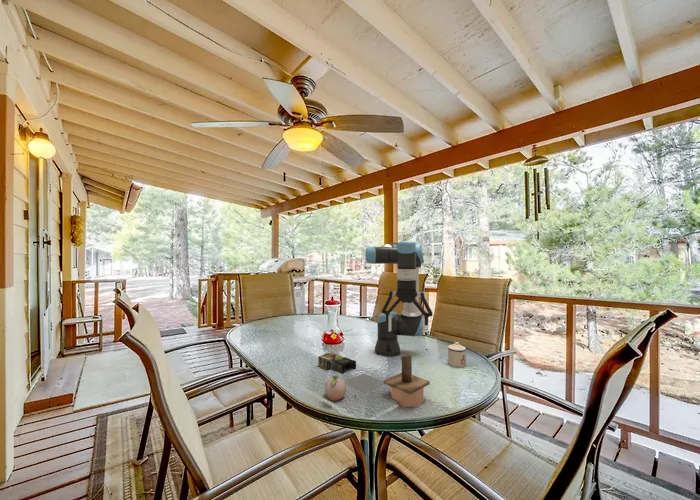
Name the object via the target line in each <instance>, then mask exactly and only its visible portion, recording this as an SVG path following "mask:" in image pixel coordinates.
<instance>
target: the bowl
mask: <svg viewBox="0 0 700 500" xmlns="http://www.w3.org/2000/svg"><path fill="white" fill-rule="evenodd" d="M390 397H391V399H393V400H395V401H398V402H397V403H396V405H398V406H400V407H408V408H410V407H411V408H412V407H413V408H417V407H418V406H420V405H422V404H423V403H424V388H422V389H420V390H418V391H416V392H414V393H412V394H408V393H405V392H403V391H401V390H398V389H396V388H393V387H391V386H390Z"/></svg>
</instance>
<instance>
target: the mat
mask: <svg viewBox="0 0 700 500" xmlns="http://www.w3.org/2000/svg"><path fill="white" fill-rule="evenodd" d="M343 381H344V382H345V384H346V386H350V387H351V388H353V389H355V390H358V391H359V392H362V393H367V392H369V391H371V390H373V389H376V388H379V387H381V386H383V385H385V384H384V380H381V379H378V378H377V377H374V376H372V375H369V374H366V373H361V374H359V375H357V376H354V377H351V378H349V379H348V378H347V379H346V380H345V379H344V380H343Z"/></svg>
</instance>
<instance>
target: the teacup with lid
mask: <svg viewBox="0 0 700 500" xmlns="http://www.w3.org/2000/svg"><path fill="white" fill-rule="evenodd" d="M447 350H448V351H447V355H448V359H447V363H448V365H449V366H450V367H454V368H465V367H466V364H467V363H466V362H467V360H466V359H467V357H466V356H467V355H466V351H467V348H466V347H465V346H463V345H461V344H460V342H458V341H454V343H453V344H449V345H448V346H447Z"/></svg>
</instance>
